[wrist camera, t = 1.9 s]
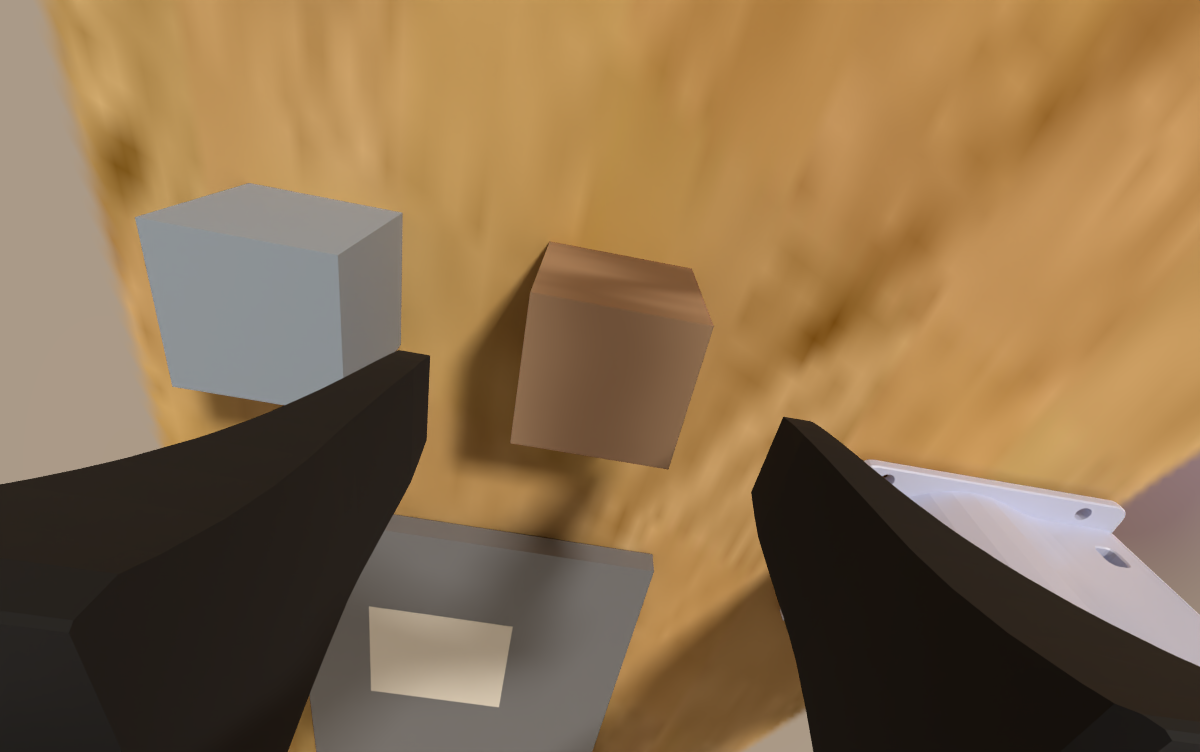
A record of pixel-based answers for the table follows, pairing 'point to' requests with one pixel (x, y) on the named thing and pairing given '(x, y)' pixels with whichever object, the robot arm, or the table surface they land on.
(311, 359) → the slate block
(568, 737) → the baseplate
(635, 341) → the walnut block
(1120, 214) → the table surface
